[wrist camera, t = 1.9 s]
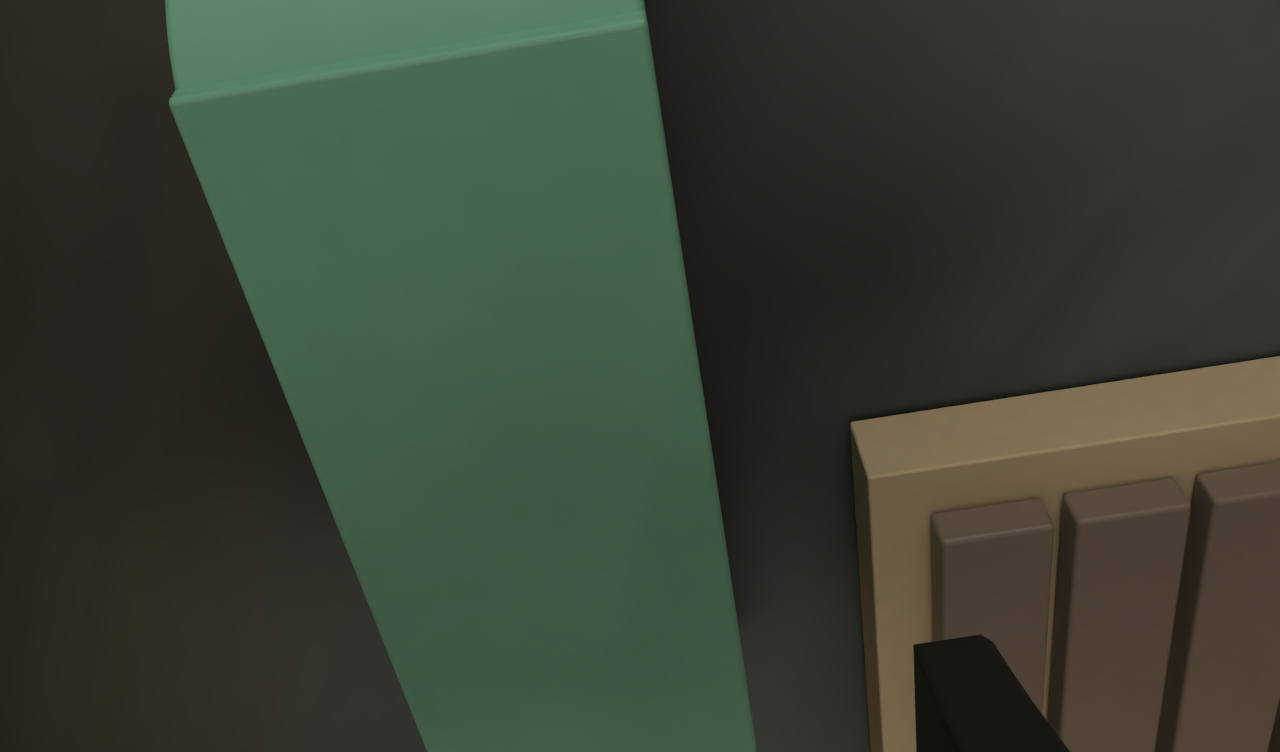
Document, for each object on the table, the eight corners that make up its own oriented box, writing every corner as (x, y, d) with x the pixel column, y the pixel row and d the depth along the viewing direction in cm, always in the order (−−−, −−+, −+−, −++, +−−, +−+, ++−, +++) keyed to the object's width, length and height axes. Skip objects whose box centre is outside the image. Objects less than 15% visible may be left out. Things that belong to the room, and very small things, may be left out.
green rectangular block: (255, -169, 14) (115, -20, 9) (605, -230, 14) (626, -109, 9) (513, 659, 22) (503, 948, 17) (735, 627, 22) (781, 910, 17)
